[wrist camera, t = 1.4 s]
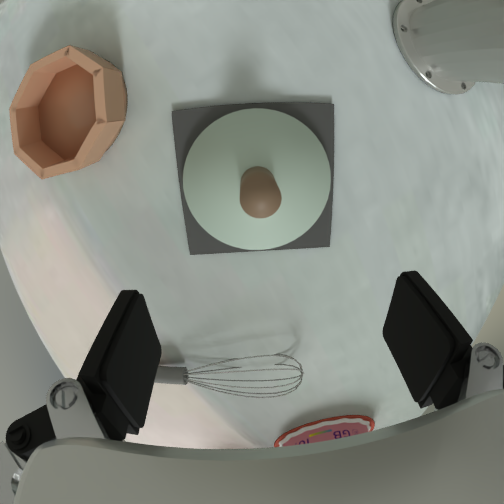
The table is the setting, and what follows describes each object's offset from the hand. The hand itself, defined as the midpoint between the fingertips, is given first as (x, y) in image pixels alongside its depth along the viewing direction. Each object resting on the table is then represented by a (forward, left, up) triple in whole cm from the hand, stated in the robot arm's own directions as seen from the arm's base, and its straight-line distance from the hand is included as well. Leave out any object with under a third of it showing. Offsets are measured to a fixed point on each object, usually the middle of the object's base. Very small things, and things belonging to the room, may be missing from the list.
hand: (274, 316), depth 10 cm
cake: (-14, +60, -20) cm, 65 cm away
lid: (0, 0, -19) cm, 19 cm away
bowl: (+18, -10, -19) cm, 28 cm away
